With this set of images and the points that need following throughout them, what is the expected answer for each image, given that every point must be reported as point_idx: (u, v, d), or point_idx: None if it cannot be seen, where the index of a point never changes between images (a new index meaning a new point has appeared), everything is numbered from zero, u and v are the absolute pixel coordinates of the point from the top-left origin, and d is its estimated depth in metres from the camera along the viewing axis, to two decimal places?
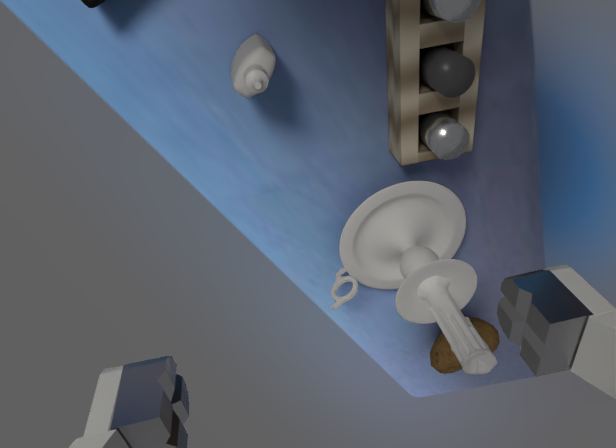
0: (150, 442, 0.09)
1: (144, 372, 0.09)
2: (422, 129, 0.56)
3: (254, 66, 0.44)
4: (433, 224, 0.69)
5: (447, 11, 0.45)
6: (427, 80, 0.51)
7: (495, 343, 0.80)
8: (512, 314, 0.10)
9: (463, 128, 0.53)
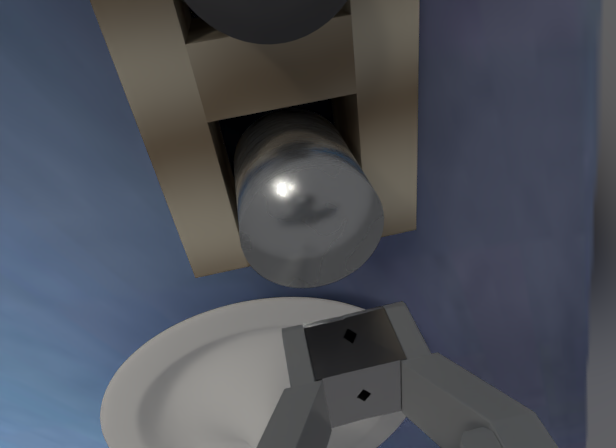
0: (344, 395, 0.09)
1: (327, 330, 0.10)
2: (235, 171, 0.16)
3: None
4: None
5: None
6: None
7: None
8: None
9: (352, 179, 0.13)
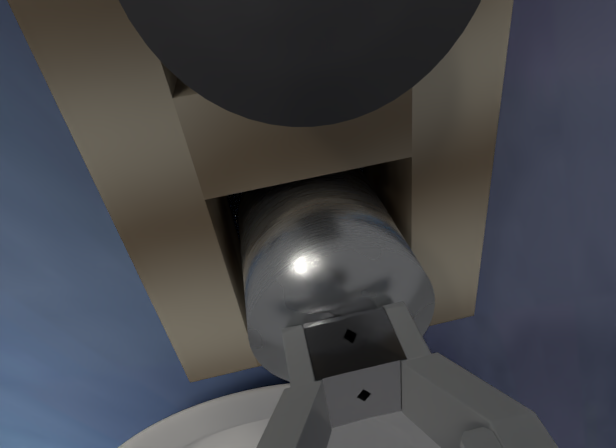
0: (344, 395, 0.09)
1: (327, 330, 0.10)
2: (240, 230, 0.13)
3: None
4: None
5: None
6: None
7: None
8: None
9: (397, 261, 0.10)
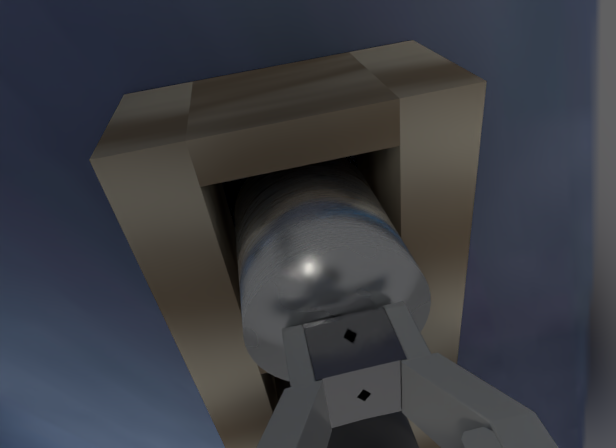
0: (344, 395, 0.09)
1: (327, 330, 0.10)
2: None
3: None
4: None
5: None
6: None
7: None
8: None
9: None
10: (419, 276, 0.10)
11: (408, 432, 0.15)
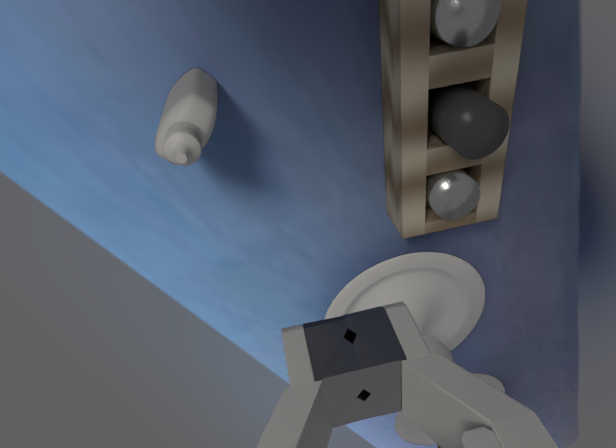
0: (344, 395, 0.09)
1: (327, 330, 0.10)
2: None
3: (179, 125, 0.29)
4: (443, 299, 0.54)
5: (451, 32, 0.32)
6: (439, 133, 0.36)
7: None
8: None
9: (472, 181, 0.40)
10: None
11: None
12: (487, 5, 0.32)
